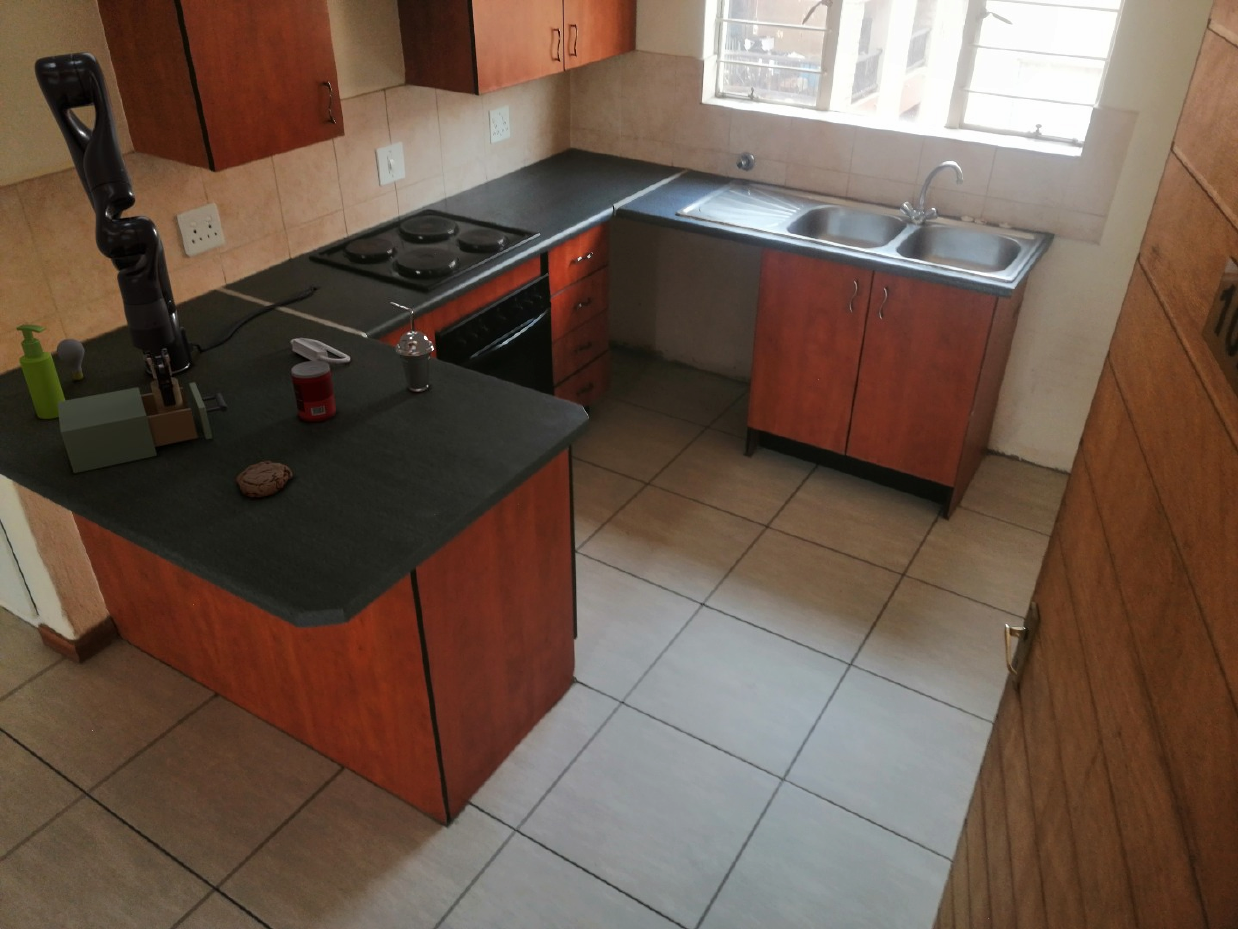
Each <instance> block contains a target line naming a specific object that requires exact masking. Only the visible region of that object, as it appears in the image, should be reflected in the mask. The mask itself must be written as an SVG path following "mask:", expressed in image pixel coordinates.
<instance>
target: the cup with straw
mask: <svg viewBox="0 0 1238 929" xmlns="http://www.w3.org/2000/svg"><path fill="white" fill-rule="evenodd" d="M389 305H390V306H392V307H395V308H398V309H401V310H404V311H407V312H409V316H410V318H409V319H410V327H411V330H408V331H406V332H405V333H403V334H402V335H401V336H400V338H399V339H398V343H397V344H396V345H395V353H396V354H398V355H399V358H400V362H402V366H403V371H404V376H405V380H406V384H407V386H408V390H409V391H410V392H413V393H423V392H426V391H428V390H429V388H430V386H429V384H430V360H431V354H432V353H431V352H432V351H433V350H434V348H435V346H434V344H433V342H432V341H430V340H429V338H428V336H427V335H426V334H425V333H424V332H421V331H420V330H416V329H415V328H416V327H415V318H414V311H413V309H412V308H410V307H407V306H404V305H401V304H399V303H397V302H396V303H395V302H393V301H390V303H389Z"/></svg>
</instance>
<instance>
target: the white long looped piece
mask: <svg viewBox="0 0 1238 929" xmlns="http://www.w3.org/2000/svg"><path fill="white" fill-rule="evenodd" d="M289 343H290V345H291V346H292V347H291V351H292V352H295V353H297V355H300V356H302V357H304V358H305V359H308V360H309V361H322V362H326V363H329V364H347V363H349V362H351V357H350V356H349V355H348V354H346V353H344V352H342V351H340V350H338V349H336V348H334V347H332V346H330V345H328V344H326V343H324V342H322V341H319V340H316V339H312V338H303V337H298V338H293V339H291V340H290V342H289ZM327 351H328V352H330V353H332V354H334V355H336V356H338V357H339V358H331V357H329V356H328V352H327Z"/></svg>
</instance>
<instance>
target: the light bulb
mask: <svg viewBox="0 0 1238 929" xmlns="http://www.w3.org/2000/svg"><path fill="white" fill-rule="evenodd" d="M56 355H57V356H58V358H59V359H60V360H61V361H62V362H63V363H64V364H66V365H67V366H68V367H69V369H70V372H71V375H72V379H73V380H76V381H81V380H82V379H83V378H84V374H83V369H82V362H83V359H84V356H85V348H84V345H83V344H82V343H81V341H79V340H77V339H74V338H65V339H63V340H61V341H60V342H59V343H58V344H57V347H56Z"/></svg>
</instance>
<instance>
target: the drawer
mask: <svg viewBox="0 0 1238 929" xmlns="http://www.w3.org/2000/svg"><path fill="white" fill-rule="evenodd" d="M188 385H189V390H190V394H191V398H192V402H193V406H194V411H195V415H196V417H197V420H198V422H199V425H200V427H201V430H202V433H203V435H204V438H205V440H210V439H213V434H212V430H211V426H210V422H209V416H208V414H209V413H214V412H223V413H225V412H226V411H227V410H228V406H227V404H226V402H225V400H224V397H223V395H222V394H221V393H220V392H216V393H215V394H214V395H211V396H206V397H202V396H201V393H200V391H199V389H198V387H197V384H196V382H190V383H188ZM179 388H180V393H181V397H182V401H183V405H184V409H182V410H177V411H172V412H167V413H162V414H158V411H157V408H156V404H155V400H154V396H153V392H149V393H145V394H144V393H143V394H140V395H141V398H142V402H143V405H144V409H145V412H146V416H147V419H148V423H149V427H150V431H151V434H152V438H153V442H154V446H155V448H156V447H160V446H166V445H171V444H175V443H181V442H185V441H189V440H196V439H199V436H198V433H197V429H196V424H195V420H194V416H193V411H192V409H191V407H188V403H187V399H186V394H185V390H184V388H183V387H179ZM213 400H215V402H216V403H217V405H218V406H216V407H211V408H206V405H205V403H204V402H208V401H213Z"/></svg>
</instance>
